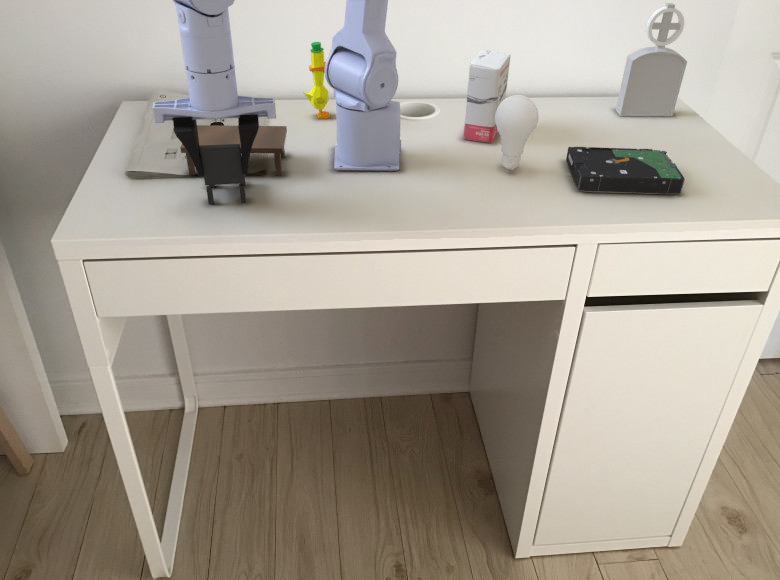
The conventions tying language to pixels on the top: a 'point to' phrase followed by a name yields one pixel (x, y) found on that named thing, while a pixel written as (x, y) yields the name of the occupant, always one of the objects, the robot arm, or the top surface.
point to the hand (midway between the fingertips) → (223, 172)
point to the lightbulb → (515, 127)
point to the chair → (222, 168)
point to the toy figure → (318, 81)
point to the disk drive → (623, 170)
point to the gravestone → (654, 71)
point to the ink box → (485, 94)
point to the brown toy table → (265, 142)
